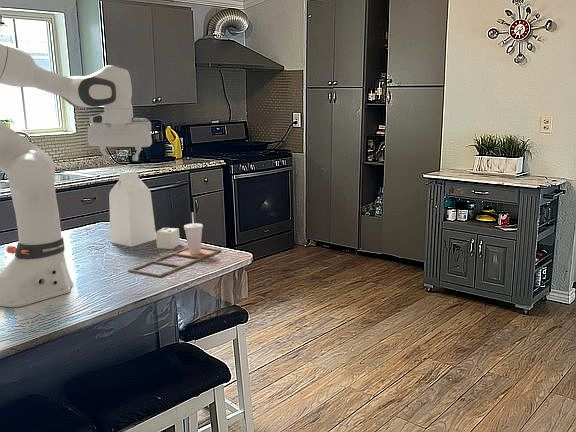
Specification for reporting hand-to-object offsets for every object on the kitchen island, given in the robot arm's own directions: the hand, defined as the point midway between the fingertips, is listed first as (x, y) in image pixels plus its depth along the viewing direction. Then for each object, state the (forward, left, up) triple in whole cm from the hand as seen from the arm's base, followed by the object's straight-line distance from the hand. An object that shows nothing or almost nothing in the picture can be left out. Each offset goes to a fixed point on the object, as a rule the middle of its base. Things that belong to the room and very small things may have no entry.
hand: (121, 160), depth 189 cm
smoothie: (+12, -19, -32) cm, 39 cm away
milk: (+15, +13, -33) cm, 38 cm away
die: (+15, -4, -33) cm, 36 cm away
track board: (+2, -19, -32) cm, 38 cm away
